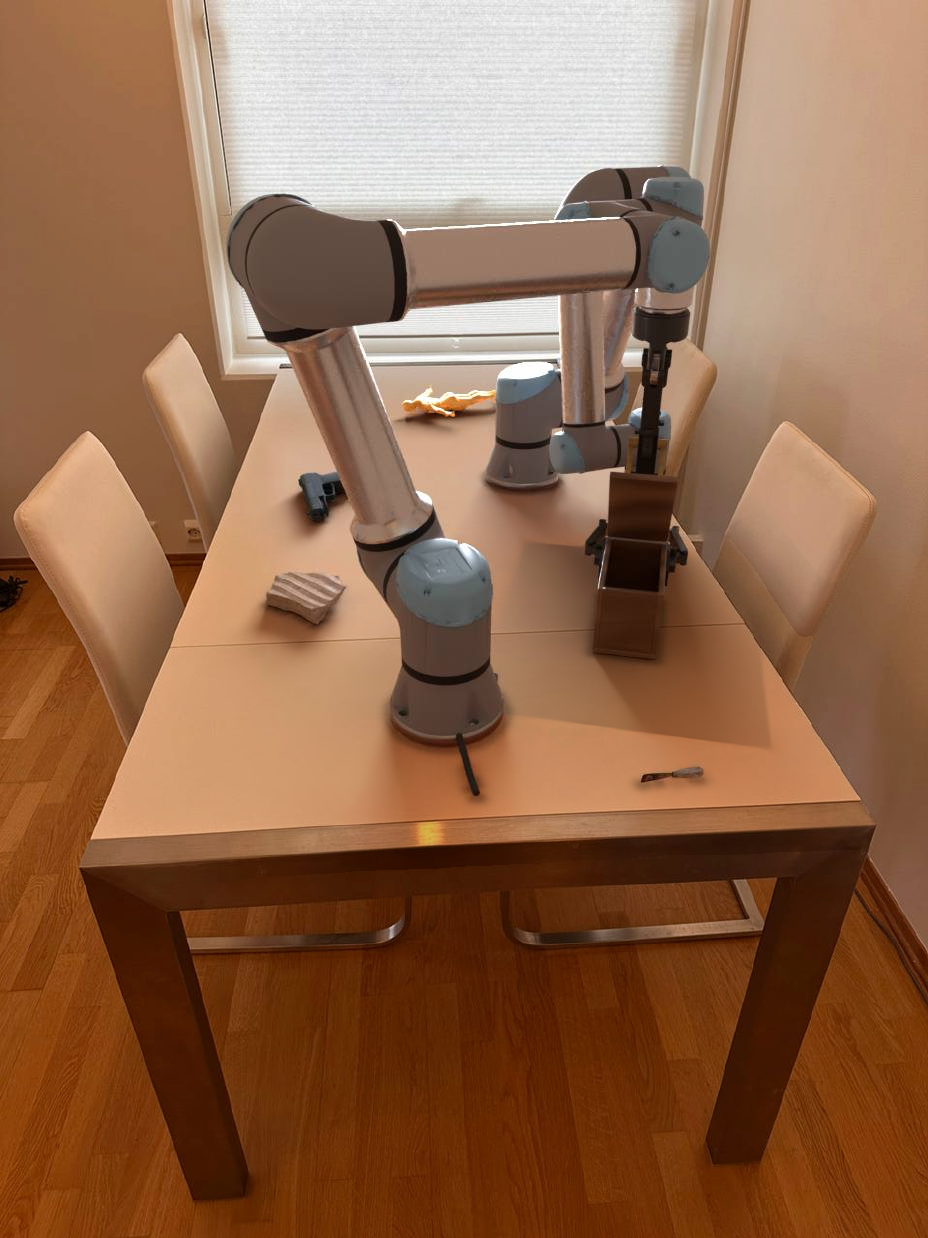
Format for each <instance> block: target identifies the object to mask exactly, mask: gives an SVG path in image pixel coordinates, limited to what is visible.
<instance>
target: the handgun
mask: <svg viewBox="0 0 928 1238" xmlns="http://www.w3.org/2000/svg"><path fill="white" fill-rule="evenodd" d="M298 486H299V487H300V488H301V490H302V493H303V497H304V500H305V503H306V506H307V509H308V511H307V512H306V515H307V516H310V519H311V520H312V521H314V522H322V521H324V520H325V515H326V517H329V506H328V503H329V502H334V501H336V494H341V493H346V492H345V489H344V487H343V485H342V482H341V480H340V478H339V475H338V473H337V471H333V472H329V473H325V474H320V473H318V472H316V471H315V472H305V473H303V474H301V475H300V476H299V478H298Z"/></svg>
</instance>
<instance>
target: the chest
mask: <svg viewBox="0 0 928 1238" xmlns="http://www.w3.org/2000/svg"><path fill="white" fill-rule="evenodd" d="M606 537H607V536H606ZM666 555H667V542H658V541H647V540H637V539H626V538H615V537H613V538H612V537H607V541H606V546H605V552H604V557H603V563H602V568H601V573H600V579H598V586H597V591H596V592H597V593H596V604H595V614H594V624H593V637H592V648H591V651H592V653H596V654H606V655H613V656H620V657H621V656H622V657H631V658H640V659H647V660H656V659H657V654H658V653H657V652H658V645H659V637H660V631H661V623H662V615H663V609H664V600H665V591H666V586H665V573H666Z"/></svg>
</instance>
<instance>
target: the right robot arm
mask: <svg viewBox="0 0 928 1238" xmlns="http://www.w3.org/2000/svg"><path fill="white" fill-rule="evenodd" d="M657 177H686V178H692V176H691V175H690V173H689V172H688V171H687V170H686V169H684V168H683V167H681V166H671V165H670V166H669V165H667V166H665V165H664V164H659V165H658V166H645V167H644V166H641V167H639V166H638V167H616V168H615V167H602V168H597V169H595V170H592V171H590V172H588V173H587V174H584V175H583V176H582V177H580V178H579V179H578V180H577V181H576V182H575V183H574V185H572V187H571V188H570V189H569V190H568V192H567V193H566V195H565V196H564V198H563V200H562V201H561V204H560V206H559V208H558V210H557V212H558V211H559V210H560V209H561V208H562V207H563V206H565V205H568V204H574V203H582V202H583V201H587V202H594V201H612V200H631V199H637V198H640V197H642V193H643V190H644V185H645V183H646V181H647V180H649V179H651V178H657ZM635 291H636V289H628V290H612V291H602V292H591V293H580V294H570V295H559V296H557V304H558V305H557V306H558V332H559V336H558V337H559V357H557V358H556V361H557V364H558V367H559V369H555V367H554V366H553V365H552V364H551V363H548V362H545V361H544V362H543V361H535V362H534V361H529V362H528V361H527V362H526V361H525V362H522V363H521V362H520V363H517V364H512V365H511V366H508V367H506V368H505V369H503V370H502V371H501V372H500V373H499V374H498V376H497V378H496V386H495V392H496V393H495V400H496V403H495V422H494V423H495V425H494V426H495V428H494V429H495V430H494V432H495V434H494V445H493V448H492V451H491V453H490V457H489V459H488V462H487V465H486V469H485V479H486V481H487V483H489V484H490V485H492V486H493V487H494V488H497V489H500V490H503V491H507V492H515V493H532V492H533V493H534V492H540V491H543V490H547V489H549V488H551V487H553V486H556V484H557V483H558V481H559V474H560V475H569V474H570V475H571V474H584V473H589V472H598V471H603V470H609V469H619V468H624V472H623V473H626V466H627V458H628V450H629V448H628V440H629V437H639V435H637V434H635V429H639V428H640V425H641V415H642V407H639V408H636V409H633V410H632V411H631V412H630V414H629V416H628V419H627V423H623V424H616V425H615V424H614V425H606V423H607V422H612V421H614V420H617V419H618V418H619V417H620V416H621V415H622V414H623V412H624V410H625V408H626V406H627V403H628V400H629V395H630V394H629V393H628V391H629V390H630V382H629V376H628V374H627V372H626V369H625V367H624V364H623V362H622V361H623V357H624V355H625V352H626V350H627V347H628V345H629V341H630V339H631V336H632V333H631V330H632V319H633V310H634V309H635V308H636V307H637V305H636V304H635V302H634V300H635ZM660 411H661V415H660V418H659V419H660V420H665V421H664V426H658V428H659V436H658V439H667V440H668V442H667V450H666V451H665V460H664V469H663V476H667V461H668V455H669V449H670V442H671V438H672V418H671V415H670V414H669V412H667V411H665V410H664V409H660ZM561 428H562V430H560V431H559V432H555V433H553V430H554V429H561ZM637 450H638V449H637V448H634V450H633V458H632V467H631V473H635V471H636V461H637ZM659 459H660V450H657V455H656V464H655V472H654V475H658V468H659ZM607 529H608V522H607V520H606V519H605V518H600V519H599V520H598V525H597V526H596V528H595V529H594V530H593V531H592V533H590V534H589V536H588V537H587V539H585V544H584V556H585V557H592V556H593V562H592V564H593V566H597V567H598V572H597V580H599V579H600V573H601V568H602V563H603V557H604V552H605V546H606V541H607V537H612V536H607ZM612 538H613V537H612ZM615 538H623V537H615ZM626 539H633V538H626ZM637 540H644V539H637ZM647 541H655V540H647ZM658 542H665V541H658ZM688 557H689V549H688V548H687V545H686V544H685V542H684V540H683V538H682V536H681V534H680V526H679V525H673V526H672V527H670V529H669V535H668V541H667V555H666V573H665V587H668V580H669V574H675V573H676V570H677V564H679V565H680V566H683V567H684V566H687V563H688Z"/></svg>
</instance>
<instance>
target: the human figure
mask: <svg viewBox="0 0 928 1238" xmlns="http://www.w3.org/2000/svg"><path fill="white" fill-rule="evenodd" d="M424 391H425V392H423V393H422V394H420V395H418V396H416V398H415V399H414V400H404V401H403V402H402V411H404V412H405V413H410V414H412V413H414V412H417V408H418V409H420V410H421V411H423V412H424V413H427V414H439V415H443V416H444V417H449V416H450V417H451V418H452V417H453V418H454V417H455V416H456V414H455V411H462V410H464V409H467V408H469V407H471V406H473V405H476V404H478V403H481V402H484V401H488V400H493V402H494V403H495V404H496V400H495V393H496V389H493V390H491V391H478V390H473V391H470V392H469V393H468V394H460V393H457V394H455V393H453V392H446V393H444V394H443V395H442V396H441V397H440V398H434V397H429V396H430V395H432V394H433V392H434V391H433V389H432V385H429V387H428V389H424ZM450 410H452V411H450Z"/></svg>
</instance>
